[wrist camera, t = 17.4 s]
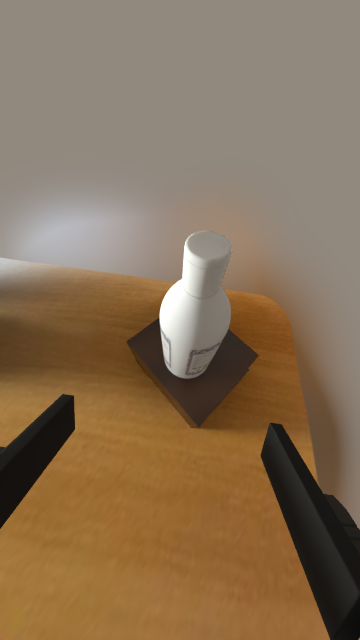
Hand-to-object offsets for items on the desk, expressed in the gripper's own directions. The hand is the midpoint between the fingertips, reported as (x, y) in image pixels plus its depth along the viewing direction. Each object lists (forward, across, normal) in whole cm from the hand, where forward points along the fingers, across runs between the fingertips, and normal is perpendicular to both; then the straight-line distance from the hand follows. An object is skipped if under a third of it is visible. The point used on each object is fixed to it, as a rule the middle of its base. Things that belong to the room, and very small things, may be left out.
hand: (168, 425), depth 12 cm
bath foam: (+16, +1, -2) cm, 16 cm away
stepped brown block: (+25, +3, -8) cm, 26 cm away
